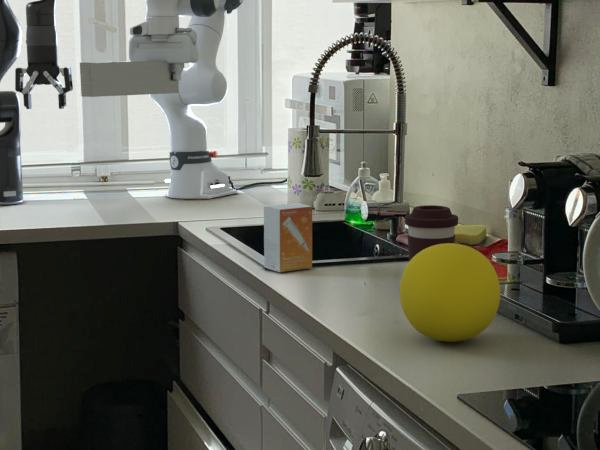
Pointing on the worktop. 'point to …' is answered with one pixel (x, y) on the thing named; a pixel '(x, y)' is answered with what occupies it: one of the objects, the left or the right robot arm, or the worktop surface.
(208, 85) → the right robot arm
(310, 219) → the small box
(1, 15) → the left robot arm
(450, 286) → the toy
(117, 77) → the bar
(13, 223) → the worktop surface
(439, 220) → the coffee cup
